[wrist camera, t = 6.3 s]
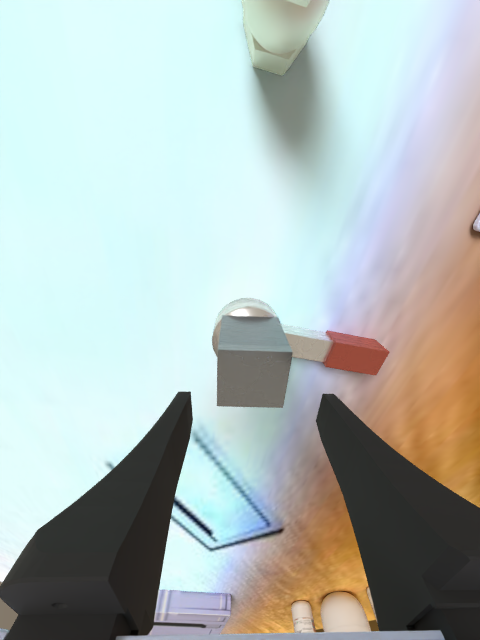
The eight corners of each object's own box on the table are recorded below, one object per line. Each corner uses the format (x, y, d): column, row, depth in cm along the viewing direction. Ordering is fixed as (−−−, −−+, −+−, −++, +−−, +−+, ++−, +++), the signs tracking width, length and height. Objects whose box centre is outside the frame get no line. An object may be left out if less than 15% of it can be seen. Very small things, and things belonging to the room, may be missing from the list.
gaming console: (129, 611, 43) (231, 617, 45) (137, 582, 46) (231, 589, 48) (128, 639, 50) (216, 643, 52) (135, 613, 53) (217, 617, 55)
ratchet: (383, 324, 21) (423, 353, 16) (356, 374, 23) (385, 411, 19) (220, 292, 19) (216, 314, 15) (210, 349, 22) (203, 384, 17)
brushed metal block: (277, 317, 18) (292, 352, 13) (271, 363, 19) (282, 407, 15) (222, 315, 17) (217, 349, 13) (221, 361, 19) (217, 406, 15)
